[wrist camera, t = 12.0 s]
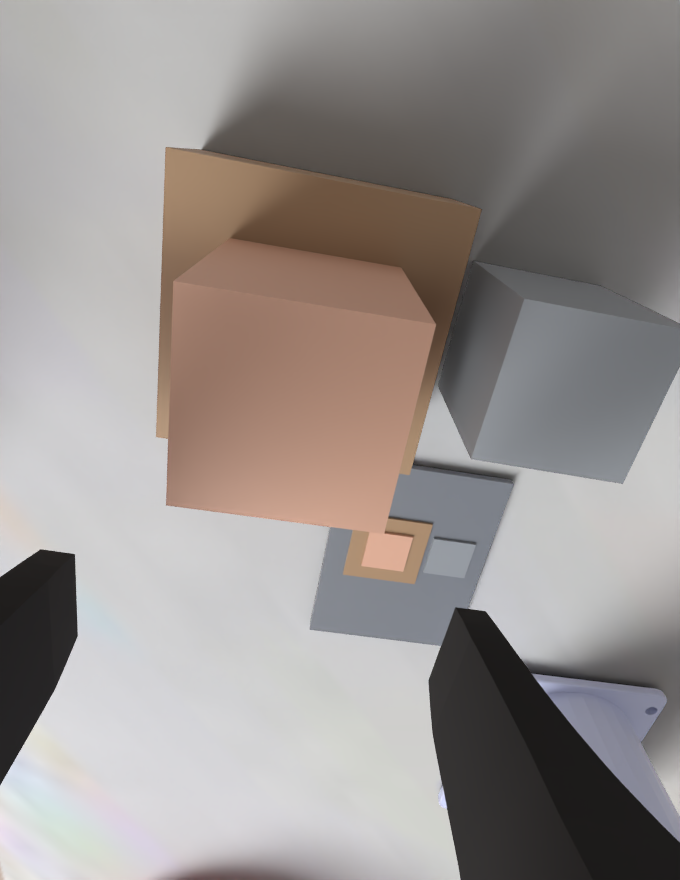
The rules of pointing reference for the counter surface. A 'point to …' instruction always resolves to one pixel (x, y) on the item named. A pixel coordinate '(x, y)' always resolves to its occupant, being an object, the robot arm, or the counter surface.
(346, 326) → the terracotta block
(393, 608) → the tile
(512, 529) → the counter surface
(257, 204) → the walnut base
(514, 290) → the grey block
